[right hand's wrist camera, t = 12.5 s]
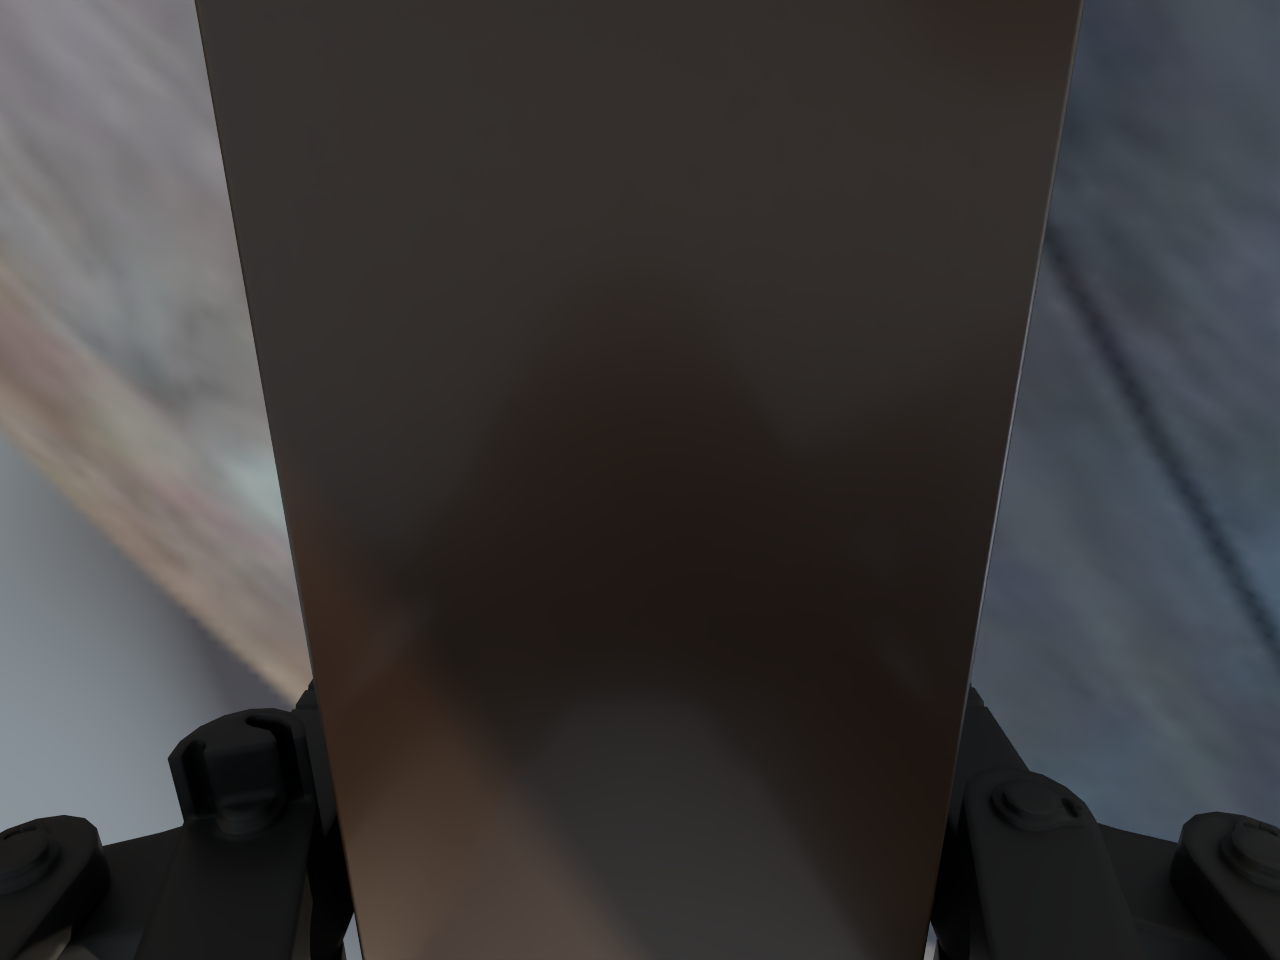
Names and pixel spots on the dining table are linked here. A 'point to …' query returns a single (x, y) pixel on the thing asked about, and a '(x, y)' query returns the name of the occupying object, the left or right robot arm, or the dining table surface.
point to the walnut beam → (641, 443)
